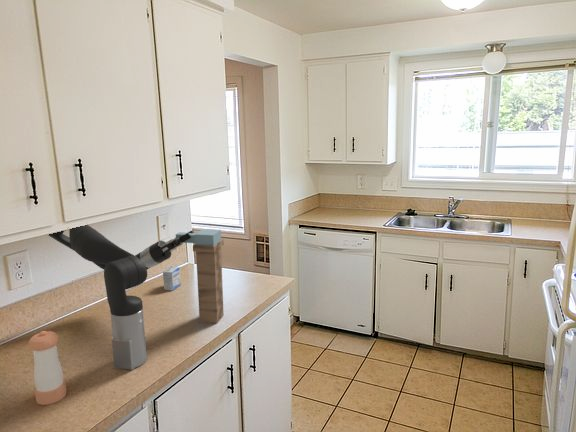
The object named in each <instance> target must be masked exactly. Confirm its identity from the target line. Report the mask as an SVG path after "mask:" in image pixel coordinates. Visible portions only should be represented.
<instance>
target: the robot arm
mask: <svg viewBox="0 0 576 432" xmlns="http://www.w3.org/2000/svg"><path fill="white" fill-rule="evenodd" d="M64 232H65V231H61V232H57V233H53V234H49V235H48V236H49V237H50V238H51V239H54V240H56V241H57V242H59V243H60V244H62V245H64V246H65V247H67V248H69V249H70V250H71V251H74V252H75V253H76V254H78V256H80V258H83V259H84V260H86V261H88V262H91V263H93V264H94V265H96V266H98V268H100V269H102V270H103V279H104V285H105V291H106V298H107V303H108V307H109V310H110V311H109V312H110V321H111V331H112V339H111V347H112V348H111V349H112V357H113V358H112V359H113V368H115V369H123V370H131V371H132V370H134V369H135V368H138V367H141V366H142V365H144V364H145V363H146V361H147V360H148V356H147V355H148V354H147V345H146V343H147V341H146V331H145V320H144V317H145V316H144V306H143V300H142V298H140V297H139V296H136V295H127V290H129V289H132V288H135V287H137V286H140V285H142V284H143V283H145V281H146V280H147V278H148V270H149V269H151V268H153V267H155V266H158V265H160V264H162V263H163V262H165V261H167V260H169V259H170V258H171V256H172V252H173V251H175V250H176V249H177V248H179V247H181V246H182V245H183V244H184V243H182V242H185V241H186V240H188V239H190V238H191V236H190V234H189V233H195V232H194V231H193V230H189V231H188V232H185V233H186V234H185V235H183V236H181V237H180V238H177V239H176V237H174V238H173V239H172V238H171V239H170V240H168V241H164V240H158V241H156V242H155V243H153V244H151V245H149V246H148V247H146V248H145V249H143V250H142V251H140V252H139V253H137V254H133V253H131V252H129V251H127V250H125V249H123V248H121V247H120V246H118V245H117V244H115V243H113V242H112V241H111V240H109V239H108V238H106V236H104V235H103V234H102V233H100V231H98V230H96V229H95V228H93V227H92V226H90V225H89V224H87V225H85V226H80V227H76V228H72V229H69V231H68V232H69V233H68V235H69V236H67V235H66V234H64Z"/></svg>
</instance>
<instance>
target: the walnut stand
mask: <svg viewBox="0 0 576 432" xmlns="http://www.w3.org/2000/svg"><path fill="white" fill-rule="evenodd" d="M224 243H225V242H224V239H221V241H220V242H218V243H217V244H216V245H215V246H201V245H195V244H193V245H192V251H193V252H195V255H196V256H195V257H196V259H195V260H196V278H197V279H196V280H197V294H198V295H197V299H198V314H199V315H198V316H199V323H207V324H208V323H209V324H218V323H219V322H220V320H221V319H222V318H223V317H224V295H223V294H224V291H223V268H222V267H223V263H222V262H223V261H222V247H223V246H224Z"/></svg>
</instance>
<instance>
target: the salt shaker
mask: <svg viewBox="0 0 576 432" xmlns="http://www.w3.org/2000/svg"><path fill="white" fill-rule="evenodd" d="M59 340H60V336H59V335H58V333H56V332H55V331H47V330H41V331H40V332H38V333H36V334H34V335H32V336H31V337H30V339H29V340H28V347H29V348H30V350H31V351H32V354H33V360H34V362H33V363H34V370H33V373H34V374H33V380H34V384H35V387H34V397H35V402H36V404H38V405H41V406H46V405H51V404H55V403H57V402H59V401H61V400H62V399H63V398H65V397H66V395H67V385H66V381H65V378H64V376H63V372H64V371H63V367H62V364H61V362H60V359H59V354H58V346H57V345H58V344H59Z"/></svg>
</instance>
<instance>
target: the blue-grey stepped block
mask: <svg viewBox="0 0 576 432" xmlns="http://www.w3.org/2000/svg"><path fill="white" fill-rule="evenodd" d="M186 233H187V232H177V233H175V238H176V239H177V238H180V237H181V236H183V235H185V234H186ZM189 234H190V236H191V238H190V239H188V240H186V241H185V242H182V243H183V244H184V243H186V244H194V245H201V246H215V245H216V244H217V243H218V242H220V241H221V240H222V231H221V229H210V228H209V229H208V228H207V229H205V228H202V229H200V230H199V231H198V232H194V233H189Z"/></svg>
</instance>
